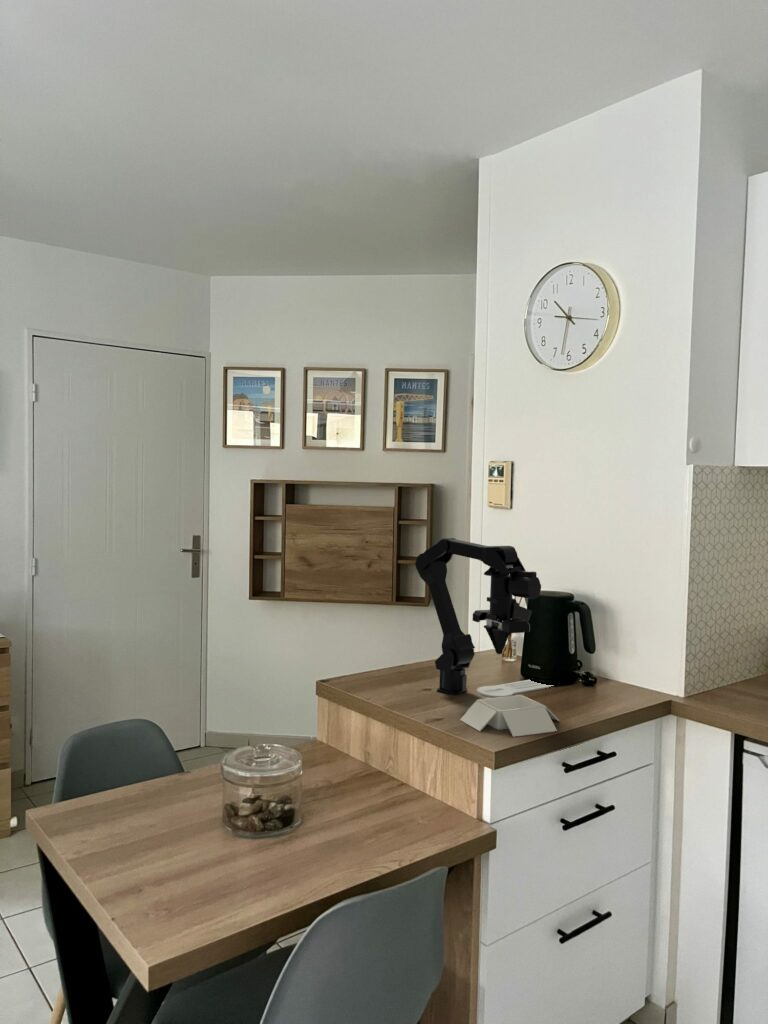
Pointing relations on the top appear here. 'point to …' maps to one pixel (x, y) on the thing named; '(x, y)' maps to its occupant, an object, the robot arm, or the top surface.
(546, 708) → the flap
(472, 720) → the flap
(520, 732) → the panel
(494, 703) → the carton
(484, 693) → the white pronged spatula
